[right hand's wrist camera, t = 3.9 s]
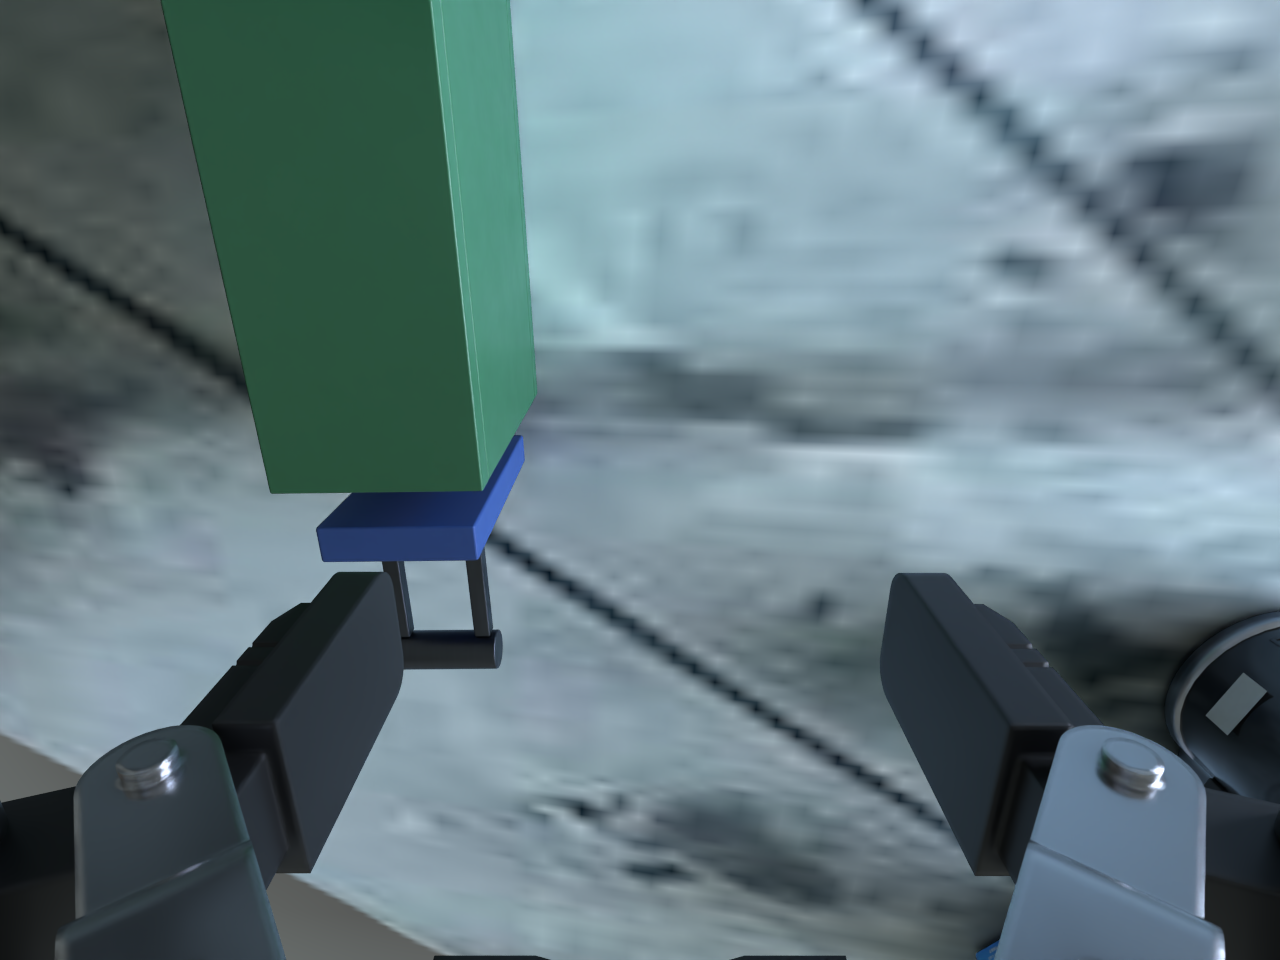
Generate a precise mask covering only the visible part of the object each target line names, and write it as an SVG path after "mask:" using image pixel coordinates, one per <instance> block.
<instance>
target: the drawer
mask: <svg viewBox="0 0 1280 960" xmlns="http://www.w3.org/2000/svg"><path fill="white" fill-rule="evenodd" d="M524 460H525V458H524V446H523V437H522V436H521V435H514V436H513V438H512V439H511V441H510V443H509V445H508V446H507V448H506V450H505V452H504V453H503V455H502V457H501V459H500V461H499V462H498V464H497V466H496V468H495V469H494V471H493V473H492V475H491V476H490V478H489V480H488V482H487V484H486V486H485V488H484V489H483V491H449V492H366V493H351V494H350V495H349V496H348V497H347V498H346V499H345V500H344V501H343V502H342V503H341V504H340V505H339V506H338V507H337V508H336V509H335V510H334V511H333V512H332V513H331V514H330V515H329V516H328V517H327V518H326V519H325V520H324V521H323V522H322V523H321V524H320V525H319V526H318V527H317V529H316V532H317V537H318V542H319V547H320V552H321V557H322V561H323V562H364V561H382V565H383V571H384V572H387V573H388V574H389V576H390V577H391V580H392V583H393V588H394V595H395V601H396V608H397V615H398V622H399V629H400V636H401V642H402V649H403V659H404V667H403V669H497V668H499V666H500V664H501V659H502V650H503V642H502V634H501V631H500V630H492V629H493V623H492V614H491V604H490V595H489V586H488V576H487V567H486V558H485V548H484V546H485V544H486V542H487V540H488V537H489V535H490V533H491V531H492V529H493V527H494V525H495V523H496V520H497V518H498V516H499V514H500V512H501V510H502V508H503V505H504V503H505V501H506V499H507V497H508V495H509V493H510V490H511V488H512V486H513V484H514V482H515V480H516V478H517V476H518V473H519V471H520V469H521V467H522V465H523V463H524ZM455 560H466V567H467V575H468V584H469V592H470V601H471V609H472V618H473V626H474V630H414V625H413V619H412V612H411V606H410V599H409V593H408V586H407V580H406V573H405V567H404V561H455Z"/></svg>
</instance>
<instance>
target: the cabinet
mask: <svg viewBox="0 0 1280 960" xmlns="http://www.w3.org/2000/svg"><path fill="white" fill-rule="evenodd" d="M160 1H161V5H162V10H163V14H164V19H165V23H166V27H167V32H168V36H169V41H170V45H171V50H172V54H173V59H174V63H175V68H176V72H177V77H178V81H179V86H180V90H181V95H182V99H183V104H184V108H185V113H186V117H187V122H188V126H189V131H190V135H191V140H192V144H193V148H194V153H195V157H196V162H197V166H198V171H199V175H200V180H201V184H202V189H203V193H204V198H205V202H206V207H207V211H208V216H209V220H210V225H211V229H212V234H213V238H214V243H215V247H216V252H217V256H218V261H219V265H220V269H221V274H222V278H223V283H224V287H225V292H226V296H227V301H228V305H229V310H230V314H231V319H232V323H233V328H234V332H235V337H236V341H237V346H238V350H239V355H240V359H241V364H242V368H243V373H244V377H245V382H246V386H247V390H248V395H249V399H250V404H251V408H252V413H253V417H254V422H255V426H256V431H257V435H258V440H259V444H260V449H261V453H262V458H263V462H264V467H265V471H266V476H267V480H268V485H269V489H270V493H272V494H284V493H366V492H449V491H483V489H484V488H485V486H486V484H487V482H488V480H489V478H490V476H491V475H492V473H493V471H494V469H495V468H496V466H497V464H498V462H499V461H500V459H501V457H502V455H503V453H504V452H505V450H506V448H507V446H508V445H509V443H510V441H511V439H512V438H513V436H514V434H515V432H516V430H517V429H518V427H519V425H520V423H521V422H522V420H523V418H524V416H525V415H526V413H527V411H528V409H529V407H530V406H531V404H532V402H533V400H534V398H535V397H536V395H537V382H536V368H535V353H534V339H533V325H532V311H531V296H530V282H529V268H528V254H527V239H526V225H525V211H524V197H523V182H522V168H521V154H520V140H519V126H518V111H517V97H516V83H515V69H514V54H513V40H512V26H511V12H510V0H160Z"/></svg>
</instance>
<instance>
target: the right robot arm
mask: <svg viewBox="0 0 1280 960" xmlns="http://www.w3.org/2000/svg"><path fill="white" fill-rule="evenodd" d="M403 667H404V659H403V649H402V642H401V636H400V629H399V622H398V615H397V608H396V601H395V595H394V588H393V583H392V580H391V577H390V576H389V574H388V573H387V572H337V573H336V574H334V575H333V576H332V578H331V579H330V580H329V581H328V583H327V584H326V585H325V586H324V587H323V589H322V590H321V591H320V592H319V594H318V595H317V596H316V597H315V598H314V600H313V601H312V602H311V603H300V604H298V605H297V606H295V607H294V608H292V609H290V610H289V611H287V612H286V613H284V614H282V615H281V616H279V617H278V618H276V619H274V620H273V621H271V622H270V624H269V625H268V626H267V627H266V628H265V629H264V630H263V632H262V633H261V634H260V635H259V636H258V637H257V638H256V639H255V641H254V642H253V645H252V647H248V649H247V650H246V651H245V652H244V653H243V654H242V655H241V657H240V658H239V659H238V660H237V664H236V666H232V667H231V668H230V669H229V670H228V671H227V672H226V674H225V675H224V676H223V677H222V678H221V679H220V680H219V682H218V683H217V684H216V685H215V686H214V687H213V688H212V690H211V691H210V692H209V693H208V694H207V695H206V696H205V697H204V699H203V700H202V701H201V702H200V703H199V704H198V705H197V707H196V708H195V709H194V710H193V711H192V712H191V713H190V715H189V716H188V717H187V718H186V719H185V720H184V721H183V723H182V724H181V725H179V726H171V727H166V728H162V729H157V730H154V731H151V732H148V733H145V734H142V735H140V736H137V737H135V738H133V739H130V740H128V741H126V742H124V743H122V744H121V745H119V746H117V747H115V748H114V749H112V750H110V751H109V752H108V753H106V754H105V755H103V756H102V757H101V758H99V759H98V760H97V761H96V762H95V763H94V764H92V765H91V766H90V767H89V768H88V770H87V771H86V772H85V773H84V774H83V775H82V777H81V778H80V780H79V781H78V783H77V785H76V786H75V787H71V788H66V789H62V790H57V791H53V792H48V793H44V794H39V795H34V796H30V797H25V798H21V799H16V800H12V801H7V802H3V803H1V801H0V960H286V957H285V954H284V950H283V947H282V944H281V940H280V937H279V933H278V930H277V927H276V923H275V920H274V916H273V913H272V910H271V906H270V903H269V899H268V896H267V893H266V890H267V888H268V886H269V884H270V882H271V880H272V878H273V877H274V875H275V873H311V871H312V869H313V867H314V865H315V863H316V861H317V859H318V857H319V855H320V853H321V851H322V849H323V846H324V844H325V842H326V840H327V838H328V836H329V834H330V832H331V830H332V828H333V826H334V824H335V822H336V820H337V818H338V816H339V814H340V812H341V810H342V808H343V806H344V804H345V802H346V800H347V798H348V796H349V794H350V792H351V789H352V787H353V785H354V783H355V781H356V779H357V777H358V775H359V773H360V771H361V769H362V767H363V765H364V763H365V761H366V759H367V757H368V755H369V753H370V751H371V749H372V747H373V745H374V743H375V741H376V739H377V737H378V734H379V732H380V730H381V728H382V726H383V724H384V722H385V720H386V718H387V716H388V714H389V712H390V710H391V708H392V706H393V704H394V702H395V700H396V698H397V696H398V693H399V690H400V687H401V683H402V677H403ZM880 674H881V681H882V686H883V690H884V693H885V695H886V698H887V700H888V702H889V704H890V706H891V708H892V710H893V712H894V714H895V716H896V718H897V720H898V722H899V724H900V726H901V728H902V730H903V732H904V734H905V736H906V738H907V740H908V742H909V744H910V746H911V748H912V750H913V752H914V754H915V756H916V758H917V760H918V762H919V764H920V766H921V768H922V770H923V772H924V774H925V776H926V778H927V780H928V782H929V784H930V786H931V788H932V790H933V792H934V794H935V796H936V798H937V800H938V802H939V804H940V806H941V808H942V811H943V813H944V815H945V817H946V819H947V821H948V823H949V825H950V827H951V829H952V831H953V833H954V835H955V837H956V839H957V841H958V843H959V845H960V847H961V849H962V851H963V853H964V855H965V857H966V859H967V861H968V863H969V865H970V867H971V869H972V871H973V873H974V875H975V876H1011V878H1012V880H1013V882H1014V883H1015V885H1016V886H1015V889H1014V893H1013V896H1012V899H1011V903H1010V906H1009V909H1008V913H1007V916H1006V920H1005V923H1004V926H1003V930H1002V933H1001V937H1000V940H999V943H998V947H997V950H996V954H995V957H994V960H1280V611H1277V612H1271V613H1266V614H1261V615H1258V616H1254V617H1251V618H1248V619H1246V620H1243V621H1240V622H1238V623H1236V624H1234V625H1232V626H1230V627H1228V628H1226V629H1224V630H1222V631H1221V632H1219V633H1217V634H1216V635H1214V636H1213V637H1211V638H1210V639H1209V640H1207V641H1206V642H1205V643H1203V644H1202V645H1201V646H1200V647H1199V648H1197V649H1196V650H1195V651H1194V652H1193V653H1192V654H1191V655H1190V656H1189V658H1188V659H1187V660H1186V661H1185V662H1184V663H1183V665H1182V666H1181V667H1180V669H1179V670H1178V672H1177V673H1176V675H1175V677H1174V679H1173V681H1172V683H1171V685H1170V687H1169V690H1168V693H1167V697H1166V702H1165V720H1166V724H1167V728H1168V730H1169V732H1170V734H1171V736H1172V738H1173V739H1174V741H1175V742H1176V743H1177V744H1178V745H1179V746H1180V748H1179V753H1178V756H1177V755H1175V754H1174V753H1172V752H1171V751H1170V750H1168V749H1166V748H1165V747H1163V746H1161V745H1159V744H1158V743H1156V742H1154V741H1152V740H1150V739H1147V738H1145V737H1143V736H1140V735H1138V734H1135V733H1132V732H1129V731H1126V730H1123V729H1118V728H1114V727H1109V726H1104V725H1103V723H1102V722H1101V721H1100V720H1099V719H1098V718H1097V717H1096V716H1095V714H1094V713H1093V712H1092V711H1091V710H1090V709H1089V708H1088V707H1087V705H1086V704H1085V703H1084V702H1083V701H1082V700H1081V699H1080V698H1079V696H1078V695H1077V694H1076V693H1075V692H1074V691H1073V690H1072V689H1071V687H1070V686H1069V685H1068V684H1067V683H1066V682H1065V681H1064V680H1063V678H1062V677H1061V676H1060V675H1059V674H1058V673H1057V672H1056V670H1055V669H1054V668H1053V667H1049V665H1048V661H1047V660H1046V659H1045V658H1044V657H1043V656H1042V655H1041V654H1040V652H1039V651H1038V650H1037V649H1033V647H1032V643H1031V642H1030V641H1029V640H1028V639H1027V638H1026V637H1025V636H1024V634H1023V633H1022V632H1021V631H1020V630H1019V629H1018V628H1017V627H1016V625H1015V624H1014V623H1013V622H1011V621H1010V620H1008V619H1006V618H1005V617H1003V616H1001V615H1000V614H998V613H997V612H995V611H993V610H992V609H990V608H989V607H987V606H985V605H984V604H973V603H972V602H971V600H970V599H969V598H968V597H967V595H966V594H965V593H964V592H963V591H962V589H961V588H960V587H959V586H958V585H957V583H956V582H955V581H954V580H953V579H952V577H951V576H950V575H948V574H946V573H898V574H896V575H895V577H894V578H893V580H892V583H891V588H890V594H889V601H888V608H887V614H886V621H885V628H884V635H883V641H882V648H881V655H880ZM433 960H549V959H545V958H542V957H538V956H434V959H433ZM731 960H847V959H846V956H742V957H738V958H734V959H731Z"/></svg>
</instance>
